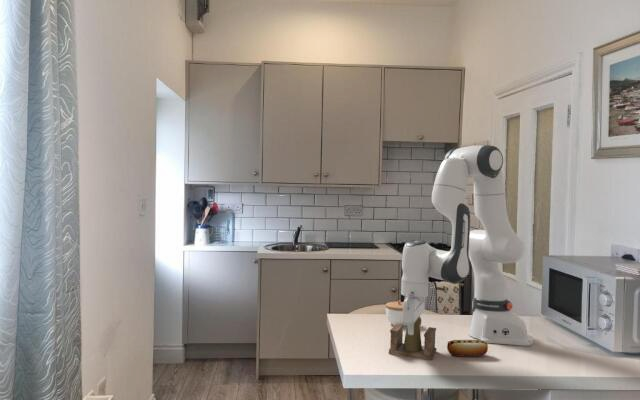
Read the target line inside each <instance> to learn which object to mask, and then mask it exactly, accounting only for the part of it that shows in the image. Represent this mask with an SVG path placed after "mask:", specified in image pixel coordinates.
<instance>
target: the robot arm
mask: <svg viewBox="0 0 640 400" xmlns="http://www.w3.org/2000/svg"><path fill="white" fill-rule="evenodd" d="M503 156H504V155H503V154H502V151H501V150H500V148H498V147H497V146H495V145H490V144H486V145H485V144H484V145H469V146H464V147H455V148H453V149H449V151H448V152H446V154H445V156H444V159H443V160H442V162H440V165H439V168H438V169H437V173H436V176H435V178H434V181H433V182H434V183H433V186H432V192H431V204H432V205H433V207H434V208H435V210H436V211H437V212H438V213H440V214H441V215H443V216H444V217H446V218H447V219H448V220H449V221H450V223H451V226H452V228H451V229H452V231H451V244H450V245H451V246H450V247H451V248H450V250H441V249H437V248H435V247H434V246H431V245H430V244H429V243H428V241H427V240H424V239H413V240H408V241H407V242H406V243H404V246H403V249H402V254H401V257H402V258H401V269H402V275H401V279H400V280H401V282H400V285H401V286H400V295H402V296H404V301H403V302H404V303H403V315H402V321H403V323H404V324H407V325H406V328H407V327H408V334H409V335H413V334H414V323H415V322H416V320H417V319H418V318H419V317H420V318H421V316H422V314H423V313H424V312H425V309H426V302H427V297H428V296H429V287H430V286H429V283H430V281H429V278H432V279H436V280H441V281H445V282H447V283H450V284H452V285H457V284H460V283H461V282H463V281H464V280H465V279H466V278H467V277H468V275H469V273H470V267H472V270H473V276H474V277H473V278H474V295H473V297H472V303H471V304H472V308H471V309H472V319H471V323H470V327H469V331H468V333H467V334H468V335H469V336H470V337H472V338H474V339H476V340H480V341H486V342H487V343H488V344H498V345H499V344H501V345H509V346H510V345H512V346H513V345H514V346H526V347H529V346H531V345H533V344H534V336H532V334H530V333H528V328H527V325H526V323H525V321H524V320H523V319H522V318H521V317H520V316H518V315H517V313H515V312H514V311H513V310H512V309H513V304H512V301H511V300H508V299H507V298H506V297H507V278H506V276H505V275H504V274H503V272H502V271H501V270H500V268H499V265H498V263H500V264H515V263H518V262H519V261H520V260H521V259H522V258H523V256H524V254H525V243H524V242H523V240H522V238H521V237H520V236H518V235H517V233H516V232H515V231H514V229H513V227H512V225H511V223H510V220H509V217H508V216H509V215H508V211H507V199H506V198H507V197H506V184H505V179H504V174H503V170H502V169H503V164H504V157H503ZM469 178H472V179H473V207H474V208H473V209H474V215H475V218H476V219H477V220H478V221H479V222H480V223H481V225H482V226H483V228H484V229H473V230H471V211H470V208H469V207H468V206H467V203H466V194H467V187H468V180H469ZM470 264H471V266H470Z"/></svg>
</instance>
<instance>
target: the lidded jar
mask: <svg viewBox="0 0 640 400" xmlns="http://www.w3.org/2000/svg"><path fill="white" fill-rule="evenodd" d="M403 303H404V301H402V300H400V299H399V300H398V301H390V302H387V303H386V304H385V315H386V319H387V320H388V322H389V323H390V324H391V325H392V326H394V325H395V324H396V323H400V324H404V323H403V321H402V315H403ZM405 326H406V327H407V325H406V324H404V326H403V327H405Z"/></svg>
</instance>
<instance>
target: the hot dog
mask: <svg viewBox="0 0 640 400" xmlns="http://www.w3.org/2000/svg"><path fill="white" fill-rule="evenodd" d="M488 344H489V343H487V342H486V341H481V340H480V339H453V340H449V341H447V344H446V348H447V352H448V353H449V355H451V356H455V357H481V356H482V357H483V356H485V355H486V354H487V352H488V351H489V345H488Z"/></svg>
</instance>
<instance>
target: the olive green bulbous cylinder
mask: <svg viewBox="0 0 640 400" xmlns="http://www.w3.org/2000/svg"><path fill="white" fill-rule="evenodd" d="M421 325H422V318H421V316H420V317H419V318H418V319H417V320H416V322H415V323H414V334H413V335H409V334H408V327H407V324H406V327H405V329H406V330H405V334H404V335H405V336H404V341H403V343H404V347H403V348H404V350H407V351H411V352H418V351H421V350H422V346H423V345H422V336H421V329H420V328H421V327H420V326H421Z"/></svg>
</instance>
